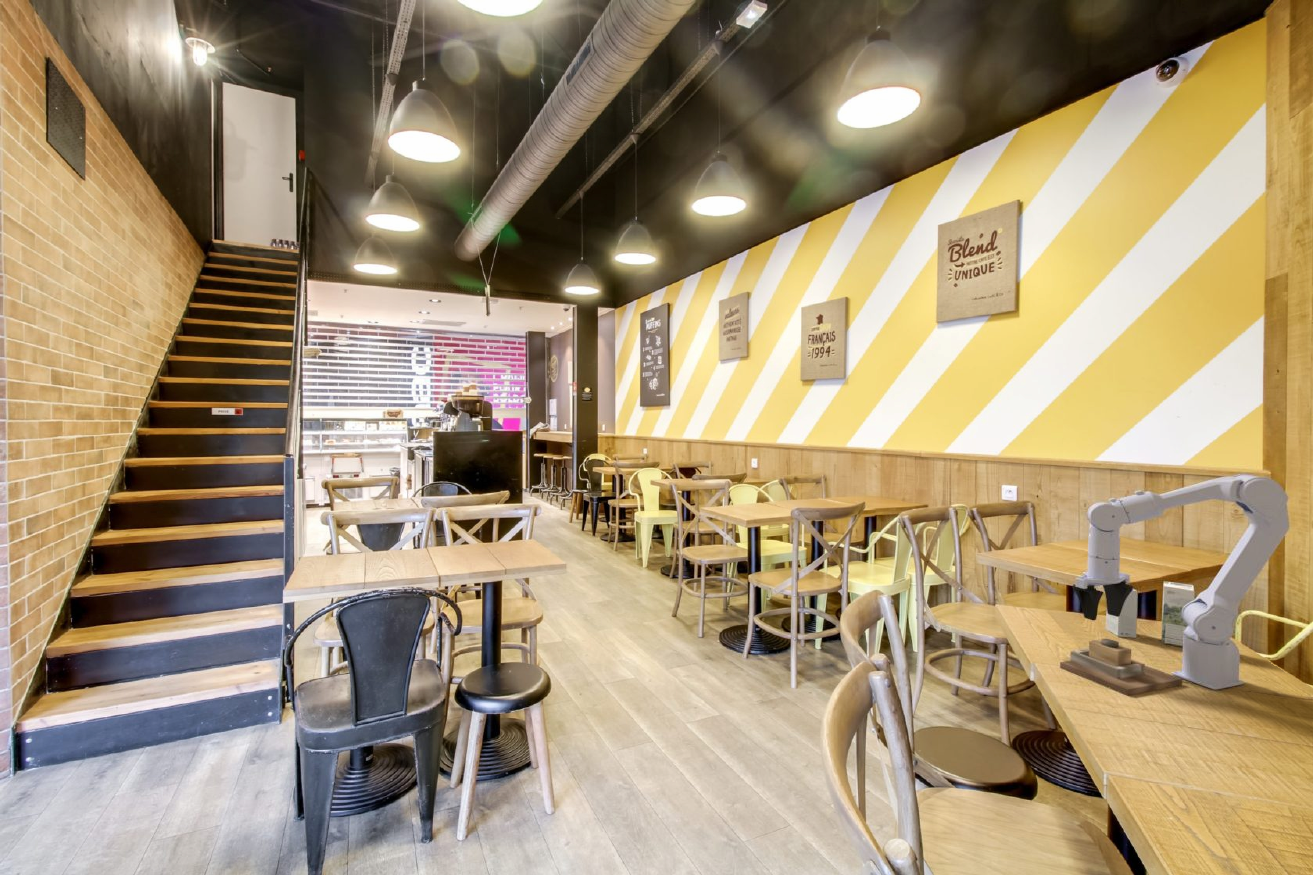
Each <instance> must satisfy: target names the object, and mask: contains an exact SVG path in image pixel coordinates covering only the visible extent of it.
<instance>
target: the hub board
mask: <svg viewBox="0 0 1313 875" xmlns="http://www.w3.org/2000/svg"><path fill="white" fill-rule="evenodd" d="M1059 663H1060V664H1059V668H1061V669H1063V670H1065V671H1067V672H1070V673H1073V674H1075V675H1077V676H1078V677H1082V678H1084V679H1087V680H1089V681H1091V680H1092V681H1091V682H1094V683H1096V684H1098V683H1099V685H1101V684H1102V685H1101V686H1103V685H1104V686H1103V687H1106V688H1108V687H1110V688H1111V690H1113V691H1116V692H1118V691H1119V692H1118V693H1120V694H1123V695H1126V696H1133V695H1138V694H1142V693H1147V691H1148V692H1152V691H1158V690H1162V688H1163V689H1166V688H1165V687H1168V688H1172V687H1177V686H1176V685H1178V686H1181V685H1180V684H1182V685H1183V678H1180V677H1178V676H1175V675H1172V674H1170V673H1167V672H1164V671H1162V670H1159V669H1156V668H1153V667H1151V666H1148V665H1146V664H1145V663H1144V662H1141V661H1138V660H1135V659H1132V658H1131V665H1125V666H1119V667H1114V666H1112V665H1109V664H1107V663H1104V662H1101V661H1099V660H1096V659H1093V658H1091V657H1089V648H1085V649H1078V650H1073V651H1070V660H1066V661H1061V662H1059ZM1110 688H1109V689H1110Z"/></svg>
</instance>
